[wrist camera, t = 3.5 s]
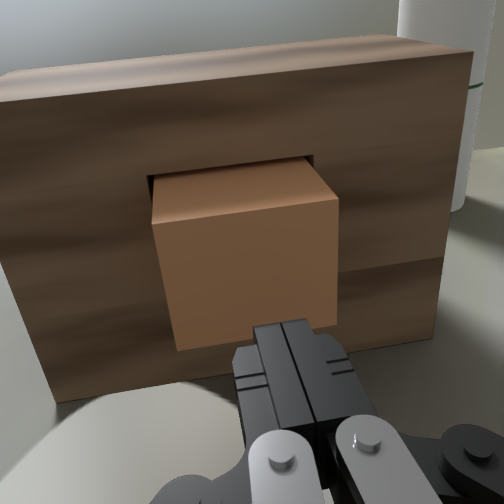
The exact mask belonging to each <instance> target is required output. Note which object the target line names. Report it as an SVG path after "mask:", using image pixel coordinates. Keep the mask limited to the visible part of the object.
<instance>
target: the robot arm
mask: <svg viewBox="0 0 504 504" xmlns="http://www.w3.org/2000/svg"><path fill="white" fill-rule="evenodd" d="M253 341H254V345H252V346H245V347H239V348H237V350H236V353H235V356H234V358H233V361H232V365H233V374H234V382H235V391H236V399H237V406H238V411H239V417H240V423H241V428H242V433H243V439H244V445H245V453H244V455H243V457H242V459H241V460H240V461H239V463H238V464H237V465H236V466H235V467H234V468H233V469H232V470H230V471H229V472H227V473H226V474H224V475H222V476H220V477H218V478H216V479H215V480H212V481H211V480H209V479H207V478H205V477H202V476H199V475H185V476H181V477H178V478H176V479H173V480H172V481H170V482H169V483H167V484H166V485H165V486H164V487H163V488H162V489H161V490H160V491H159V492H158V494H157V495H156V496H155V497H154V499H153V500H152V501H151V503H150V504H325V502H324V498H323V494H322V490H323V489H328V488H329V489H330V492H331V495H332V498H333V501H334V504H504V437H502V436H500V435H498V434H496V433H494V432H492V431H490V430H487V429H485V428H483V427H479V426H476V425H470V424H462V425H456V426H453V427H451V428H449V429H448V430H446V432H445V433H444V434H443V436H442V439H441V440H440V439H430V438H420V437H412V436H408V435H404V434H401V433H399V432H397V431H396V430H395V429H394V427H393V426H392V425H390V424H389V423H388V422H386V421H385V420H383V419H381V418H379V416H378V415H377V413H376V411H375V409H374V407H373V405H372V403H371V401H370V399H369V397H368V395H367V393H366V391H365V390H364V388H363V386H362V384H361V382H360V380H359V378H358V376H357V374H356V372H354V368H353V366H352V364H351V362H350V360H348V356H347V354H346V352H345V350H344V348H343V346H342V344H341V343H339V342H338V341H337V340H336V339H335V338H333V337H332V336H331V335H330V334H328V333H325V334H319V335H314V333H313V331H312V329H311V327H310V324H309V322H308V320H307V319H306V318H302V319H295V320H289V321H283V322H280V324H279V322H277V323H271V324H264V325H258V326H253Z"/></svg>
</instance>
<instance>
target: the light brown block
mask: <svg viewBox="0 0 504 504" xmlns="http://www.w3.org/2000/svg"><path fill="white" fill-rule="evenodd" d="M338 219H339V198H338V197H337V196H336V195H335V194H334V192H333V191H332V190H331V189H330V188H329V186H328V185H327V184H326V183H325V182H324V181H323V179H322V178H321V177H320V176H319V175H318V173H317V172H316V171H315V170H314V169H313V168H312V166H311V165H310V164H309V163H308V162H307V160H306V159H305V158H304V157H303V156H297V157H289V158H281V159H273V160H265V161H257V162H250V163H242V164H234V165H226V166H218V167H210V168H202V169H194V170H186V171H178V172H171V173H163V174H155V175H154V190H153V208H152V229H153V234H154V239H155V244H156V249H157V254H158V259H159V264H160V269H161V274H162V279H163V283H164V288H165V293H166V298H167V303H168V308H169V313H170V318H171V323H172V328H173V333H174V338H175V343H176V348H177V351H182V350H188V349H194V348H200V347H206V346H212V345H218V344H224V343H230V342H236V341H243V340H249V339H253V326H258V325H264V324H271V323H277V322H279V324H280V322H283V321H289V320H295V319H302V318H306V319H307V320H308V322H309V324H310V327H311V329H315V328H321V327H327V326H333V325H337V279H338Z"/></svg>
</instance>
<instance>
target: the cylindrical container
mask: <svg viewBox="0 0 504 504" xmlns="http://www.w3.org/2000/svg"><path fill="white" fill-rule="evenodd" d="M399 3H400V4H399V16H398V30H397V37H402V38H407V39H412V40H417V41H423V42H428V43H433V44H438V45H444V46H449V47H454V48H459V49H465V50H470V51H474V55H473V62H472V68H471V75H470V82H469V89H468V96H467V103H466V110H465V117H464V124H463V130H462V137H461V144H460V151H459V158H458V165H457V172H456V179H455V186H454V193H453V199H452V206H451V212H454V211H456V210H458V209H460V208H461V207H462V206H463V205H464V200H465V194H466V188H467V181H468V175H469V169H470V162H471V156H472V150H473V143H474V137H475V131H476V125H477V118H478V112H479V105H480V99H481V93H482V86H483V80H484V74H485V68H486V62H487V55H488V50H489V43H490V37H491V31H492V25H493V18H494V11H495V6H496V0H400V2H399Z"/></svg>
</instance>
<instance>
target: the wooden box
mask: <svg viewBox="0 0 504 504" xmlns="http://www.w3.org/2000/svg"><path fill="white" fill-rule="evenodd" d="M473 55H474V51H470V50H465V49H459V48H454V47H449V46H444V45H438V44H433V43H428V42H423V41H417V40H412V39H407V38H402V37H396V36H391V35H385V34H374V35H364V36H355V37H345V38H335V39H325V40H315V41H306V42H295V43H286V44H275V45H266V46H256V47H246V48H236V49H225V50H216V51H206V52H196V53H186V54H176V55H166V56H156V57H146V58H136V59H126V60H117V61H107V62H96V63H87V64H77V65H67V66H58V67H47V68H38V69H28V70H17V71H11V72H9V73H7V74H5V75H4V76H2V77H0V263H1V265H2V268H3V270H4V273H5V275H6V278H7V280H8V283H9V285H10V288H11V290H12V293H13V296H14V298H15V301H16V303H17V306H18V308H19V311H20V313H21V316H22V318H23V321H24V323H25V326H26V328H27V331H28V334H29V336H30V339H31V341H32V344H33V346H34V349H35V351H36V354H37V356H38V359H39V361H40V364H41V367H42V369H43V372H44V374H45V377H46V379H47V382H48V384H49V387H50V389H51V392H52V394H53V397H54V399H55V402H56V403H60V402H66V401H72V400H78V399H83V398H89V397H95V396H101V395H107V394H112V393H118V392H124V391H129V390H135V389H141V388H146V387H152V386H158V385H164V384H170V383H176V382H182V381H188V380H193V379H199V378H205V377H211V376H217V375H222V374H228V373H233V365H232V361H233V358H234V356H235V353H236V350H237V348H239V347H245V346H252V345H254V341H253V339H249V340H243V341H236V342H230V343H224V344H218V345H212V346H206V347H200V348H194V349H188V350H182V351H177V348H176V343H175V338H174V333H173V328H172V323H171V318H170V313H169V308H168V303H167V298H166V293H165V288H164V283H163V279H162V274H161V269H160V264H159V259H158V254H157V249H156V244H155V239H154V234H153V229H152V208H153V190H154V175H155V174H163V173H171V172H178V171H186V170H194V169H202V168H210V167H218V166H226V165H234V164H242V163H250V162H257V161H265V160H273V159H281V158H289V157H297V156H303V157H304V158H305V159H306V160H307V162H308V163H309V164H310V165H311V166H312V168H313V169H314V170H315V171H316V172H317V173H318V175H319V176H320V177H321V178H322V179H323V181H324V182H325V183H326V184H327V185H328V186H329V188H330V189H331V190H332V191H333V192H334V194H335V195H336V196H337V197H338V198H339V219H338V279H337V325H333V326H327V327H321V328H315V329H312V331H313V333H314V335H319V334H325V333H328V334H330V335H331V336H332V337H333V338H335V339H336V340H337V341H338V342H339V343H341V344H342V346H343V348H344V350H345V352H346V353H350V352H356V351H361V350H367V349H373V348H379V347H385V346H390V345H396V344H402V343H408V342H413V341H419V340H425V339H431V338H432V337H433V330H434V324H435V317H436V310H437V303H438V296H439V289H440V282H441V275H442V268H443V261H444V255H445V248H446V241H447V234H448V227H449V220H450V213H451V206H452V199H453V193H454V186H455V179H456V172H457V165H458V158H459V151H460V144H461V137H462V130H463V124H464V117H465V110H466V103H467V96H468V89H469V82H470V75H471V68H472V62H473Z"/></svg>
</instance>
